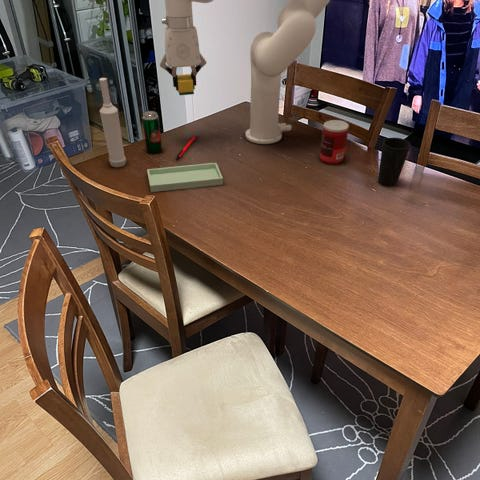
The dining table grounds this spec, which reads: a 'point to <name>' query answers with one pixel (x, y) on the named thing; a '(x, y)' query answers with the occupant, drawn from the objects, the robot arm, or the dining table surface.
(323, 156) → the canned food
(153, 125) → the soda can
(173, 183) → the tray
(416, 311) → the dining table surface
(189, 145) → the pen
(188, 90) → the sponge
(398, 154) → the cup
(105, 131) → the bottle
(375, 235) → the dining table surface
